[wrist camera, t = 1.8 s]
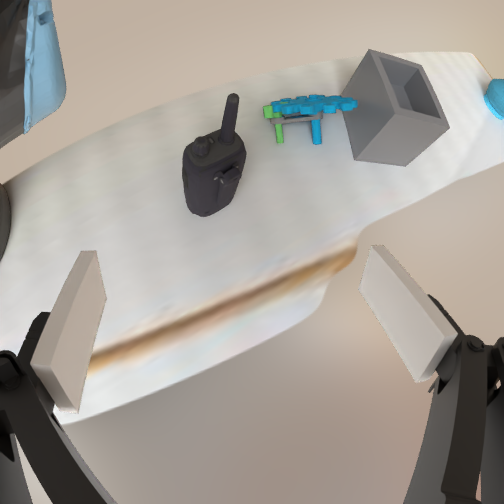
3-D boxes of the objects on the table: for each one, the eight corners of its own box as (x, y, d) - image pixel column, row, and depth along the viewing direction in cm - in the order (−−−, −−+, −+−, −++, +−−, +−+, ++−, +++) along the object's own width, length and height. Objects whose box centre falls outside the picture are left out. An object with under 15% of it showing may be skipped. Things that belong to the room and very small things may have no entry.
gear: (335, 89, 37) (373, 97, 29) (338, 131, 40) (374, 149, 32) (253, 97, 36) (271, 105, 28) (259, 141, 40) (278, 162, 31)
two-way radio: (224, 174, 33) (243, 74, 19) (247, 207, 33) (283, 118, 18) (178, 199, 32) (168, 104, 17) (201, 235, 31) (205, 155, 17)
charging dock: (354, 160, 37) (395, 113, 27) (338, 98, 39) (368, 49, 29) (407, 166, 38) (452, 128, 28) (389, 108, 40) (423, 66, 31)
